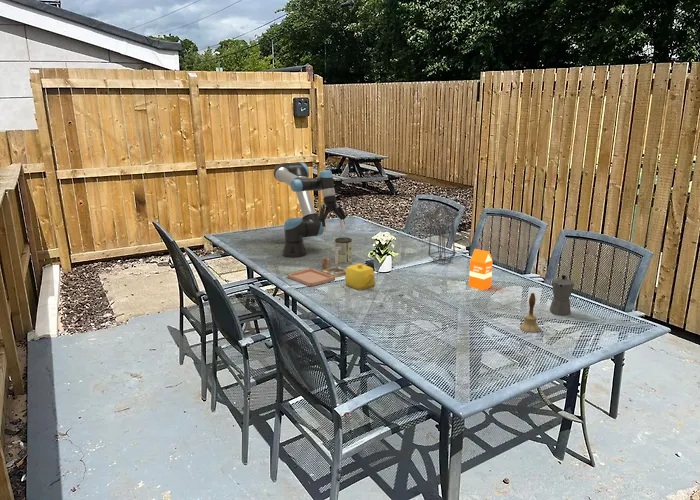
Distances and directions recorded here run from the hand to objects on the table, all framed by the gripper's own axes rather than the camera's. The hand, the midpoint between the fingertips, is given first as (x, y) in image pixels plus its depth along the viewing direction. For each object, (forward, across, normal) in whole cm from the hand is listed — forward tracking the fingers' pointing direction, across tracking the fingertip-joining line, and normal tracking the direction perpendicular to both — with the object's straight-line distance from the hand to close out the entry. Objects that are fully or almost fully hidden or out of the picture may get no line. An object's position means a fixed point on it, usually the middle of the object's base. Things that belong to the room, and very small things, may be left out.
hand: (334, 231), depth 319 cm
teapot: (+33, -15, -31) cm, 48 cm away
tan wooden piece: (+24, -10, -5) cm, 26 cm away
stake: (+25, -10, -8) cm, 28 cm away
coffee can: (+19, +9, +6) cm, 22 cm away
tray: (+25, -27, -5) cm, 37 cm away
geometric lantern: (+28, +51, -35) cm, 68 cm away
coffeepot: (+57, +26, -119) cm, 135 cm away
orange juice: (+43, +29, -76) cm, 92 cm away
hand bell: (+59, -2, -119) cm, 133 cm away
